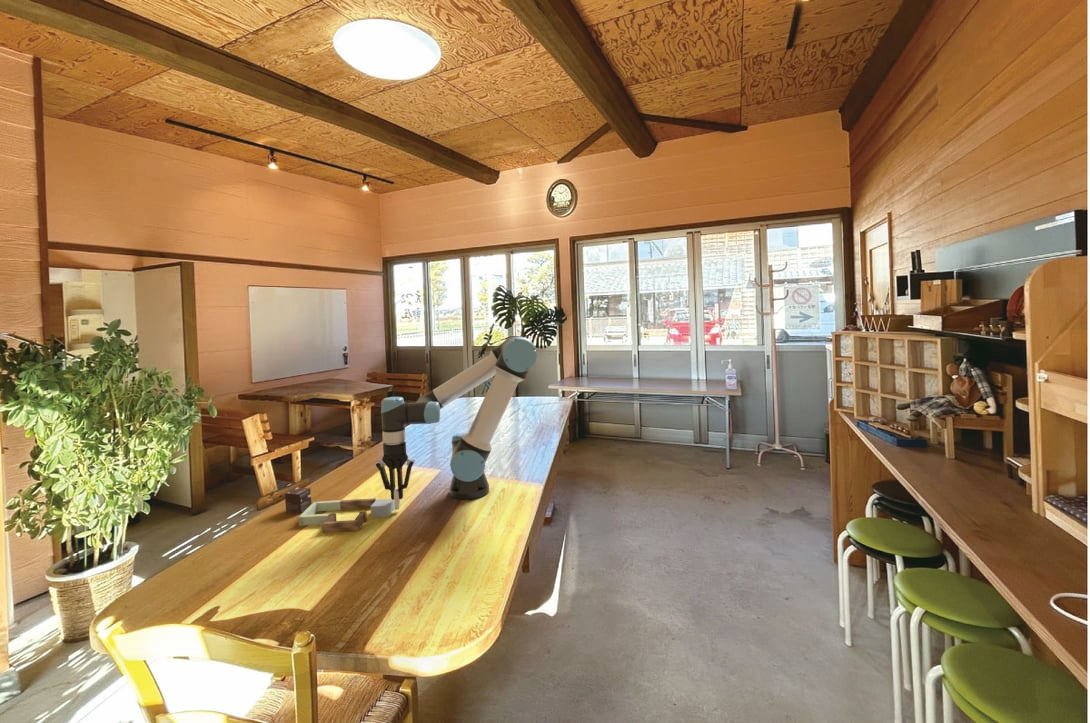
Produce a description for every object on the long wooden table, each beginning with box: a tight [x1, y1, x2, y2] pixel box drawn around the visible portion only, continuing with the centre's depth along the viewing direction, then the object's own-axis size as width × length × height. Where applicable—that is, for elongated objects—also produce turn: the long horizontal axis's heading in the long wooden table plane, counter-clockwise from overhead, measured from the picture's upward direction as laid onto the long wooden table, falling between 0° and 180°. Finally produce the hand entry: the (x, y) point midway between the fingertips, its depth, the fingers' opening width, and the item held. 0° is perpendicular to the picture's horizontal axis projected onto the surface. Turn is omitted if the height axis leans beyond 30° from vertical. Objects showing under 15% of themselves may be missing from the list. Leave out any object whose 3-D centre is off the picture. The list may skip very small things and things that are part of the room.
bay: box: [298, 499, 342, 527], centre depth 161 cm, size 10×13×3 cm
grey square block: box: [370, 498, 395, 518], centre depth 163 cm, size 6×6×4 cm
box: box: [284, 487, 313, 515], centre depth 167 cm, size 6×6×7 cm
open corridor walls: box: [321, 497, 377, 534], centre depth 159 cm, size 12×20×3 cm, turn 5°
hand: (397, 507), depth 163 cm, fingers closed
